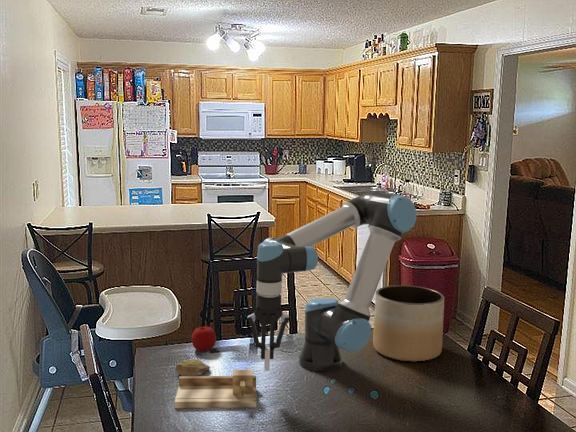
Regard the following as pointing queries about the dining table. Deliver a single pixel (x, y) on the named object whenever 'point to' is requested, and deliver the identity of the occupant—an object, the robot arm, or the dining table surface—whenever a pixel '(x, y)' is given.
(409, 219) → the robot arm
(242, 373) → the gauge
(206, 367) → the rock
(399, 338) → the planter
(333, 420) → the dining table surface
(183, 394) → the board
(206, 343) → the apple
